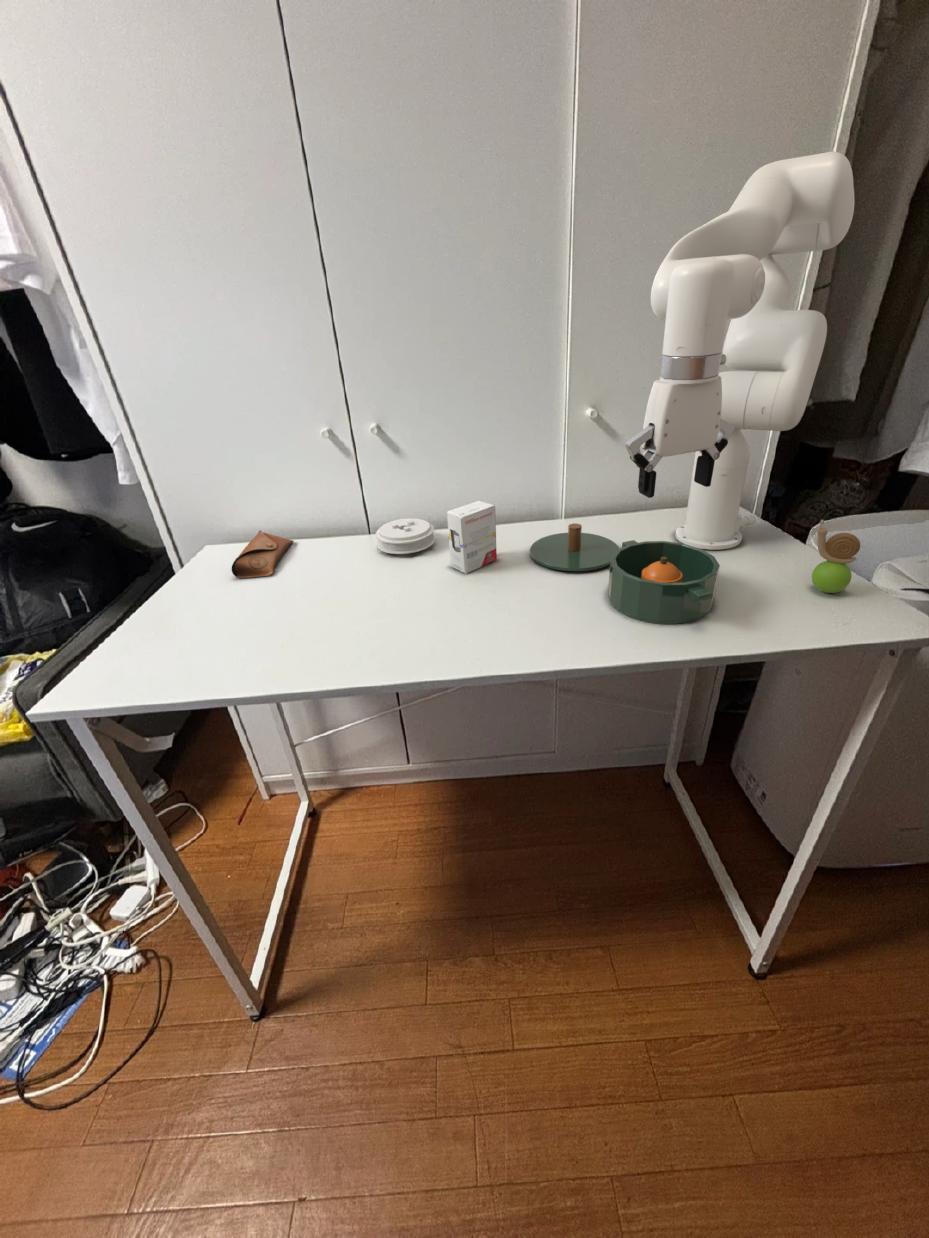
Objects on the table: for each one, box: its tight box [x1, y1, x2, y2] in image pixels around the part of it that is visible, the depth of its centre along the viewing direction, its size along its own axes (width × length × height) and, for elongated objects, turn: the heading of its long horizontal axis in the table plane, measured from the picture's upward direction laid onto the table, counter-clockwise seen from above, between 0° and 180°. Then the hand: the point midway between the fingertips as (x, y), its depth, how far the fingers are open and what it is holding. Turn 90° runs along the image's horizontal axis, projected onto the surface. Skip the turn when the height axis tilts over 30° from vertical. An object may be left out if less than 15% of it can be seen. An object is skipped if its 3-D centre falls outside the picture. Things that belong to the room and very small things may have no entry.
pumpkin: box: [641, 557, 683, 583], centre depth 90 cm, size 6×6×7 cm
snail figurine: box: [811, 519, 861, 594], centre depth 88 cm, size 5×6×12 cm
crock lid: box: [529, 522, 620, 572], centre depth 108 cm, size 18×18×6 cm
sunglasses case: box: [231, 529, 294, 579], centre depth 118 cm, size 18×7×7 cm
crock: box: [607, 539, 721, 625], centre depth 91 cm, size 17×22×7 cm
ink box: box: [446, 500, 498, 575], centre depth 106 cm, size 9×5×12 cm, turn 129°
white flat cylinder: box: [375, 517, 436, 555], centre depth 118 cm, size 13×13×5 cm
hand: (674, 489), depth 83 cm, fingers open, 9 cm apart
